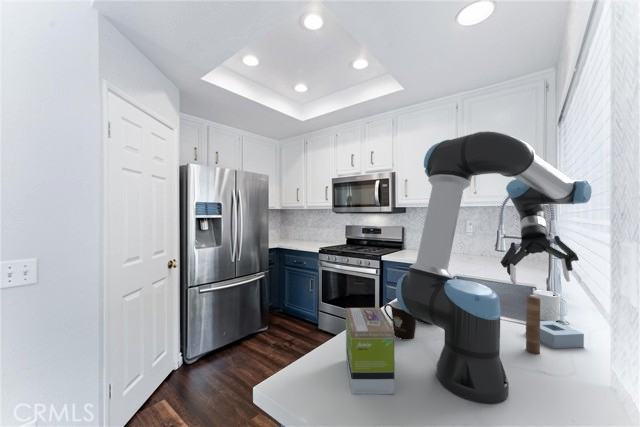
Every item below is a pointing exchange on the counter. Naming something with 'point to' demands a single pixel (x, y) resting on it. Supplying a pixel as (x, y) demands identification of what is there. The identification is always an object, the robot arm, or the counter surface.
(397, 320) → the coffee mug
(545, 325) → the socket block
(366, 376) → the tea box
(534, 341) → the dowel
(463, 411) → the counter surface
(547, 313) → the white cup
